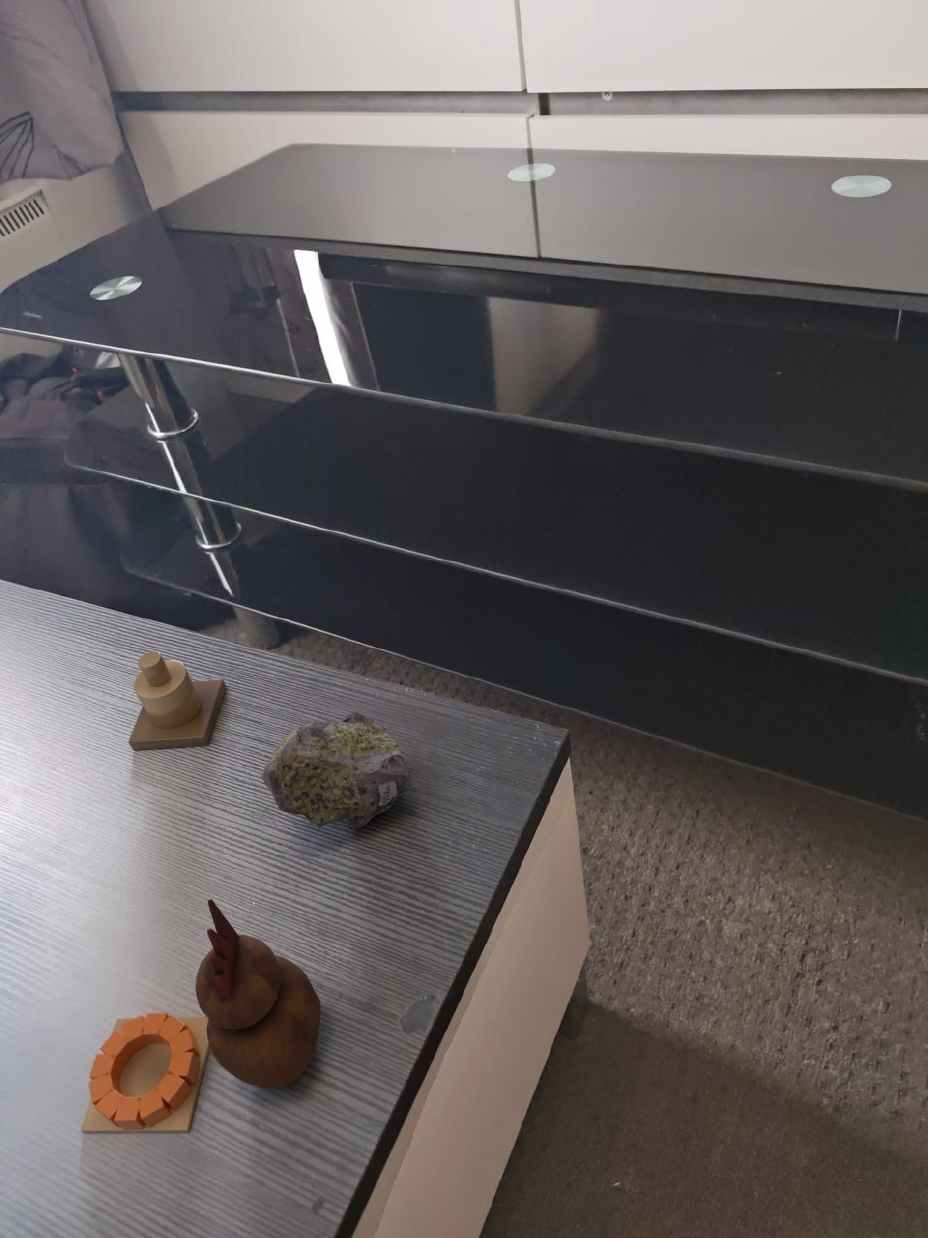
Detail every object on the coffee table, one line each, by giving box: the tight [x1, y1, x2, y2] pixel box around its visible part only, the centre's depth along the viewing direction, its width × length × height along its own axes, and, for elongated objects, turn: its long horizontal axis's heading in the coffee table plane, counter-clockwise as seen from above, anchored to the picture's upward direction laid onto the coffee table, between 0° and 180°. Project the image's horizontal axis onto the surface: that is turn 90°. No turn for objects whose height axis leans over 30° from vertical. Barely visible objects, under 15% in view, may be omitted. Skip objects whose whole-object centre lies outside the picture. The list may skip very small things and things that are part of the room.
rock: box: [260, 711, 410, 829], centre depth 69 cm, size 11×10×10 cm
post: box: [127, 650, 228, 751], centre depth 80 cm, size 7×7×8 cm
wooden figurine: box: [195, 898, 322, 1089], centre depth 54 cm, size 7×6×15 cm
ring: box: [88, 1012, 200, 1129], centre depth 58 cm, size 7×7×1 cm
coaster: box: [80, 1016, 211, 1134], centre depth 59 cm, size 7×7×1 cm
